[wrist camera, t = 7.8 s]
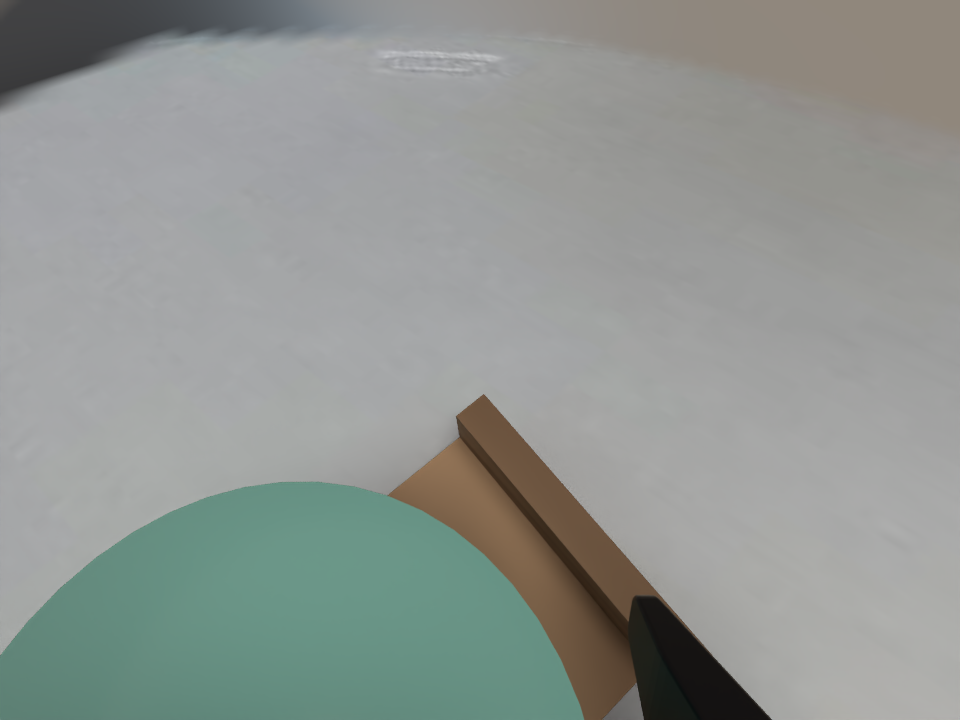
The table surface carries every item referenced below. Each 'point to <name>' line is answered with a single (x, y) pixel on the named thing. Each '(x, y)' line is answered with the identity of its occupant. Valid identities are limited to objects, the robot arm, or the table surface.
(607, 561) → the shelf board
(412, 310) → the table surface
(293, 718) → the mint green capsule
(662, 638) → the robot arm
